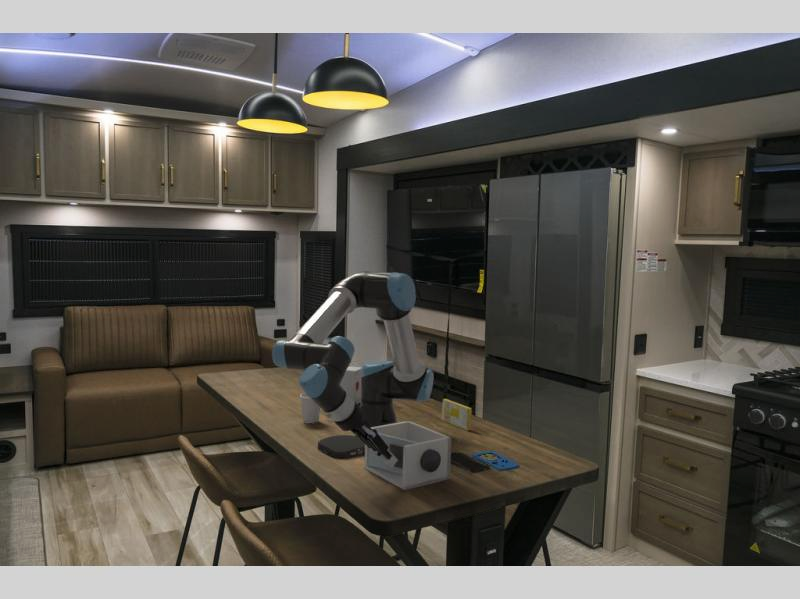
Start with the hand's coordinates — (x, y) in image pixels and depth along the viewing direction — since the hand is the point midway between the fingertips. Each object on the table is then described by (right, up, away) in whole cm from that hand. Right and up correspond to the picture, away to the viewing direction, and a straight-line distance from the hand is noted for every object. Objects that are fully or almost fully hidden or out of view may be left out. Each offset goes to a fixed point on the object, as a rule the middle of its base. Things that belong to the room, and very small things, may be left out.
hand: (393, 462), depth 177 cm
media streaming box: (-16, -3, +26) cm, 31 cm away
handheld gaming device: (+32, -5, +19) cm, 37 cm away
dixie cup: (-31, +1, +56) cm, 65 cm away
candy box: (+23, -1, +57) cm, 61 cm away
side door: (0, -3, +3) cm, 5 cm away
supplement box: (-19, +3, +83) cm, 86 cm away
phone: (+22, -5, +16) cm, 27 cm away
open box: (+4, -5, +6) cm, 8 cm away
